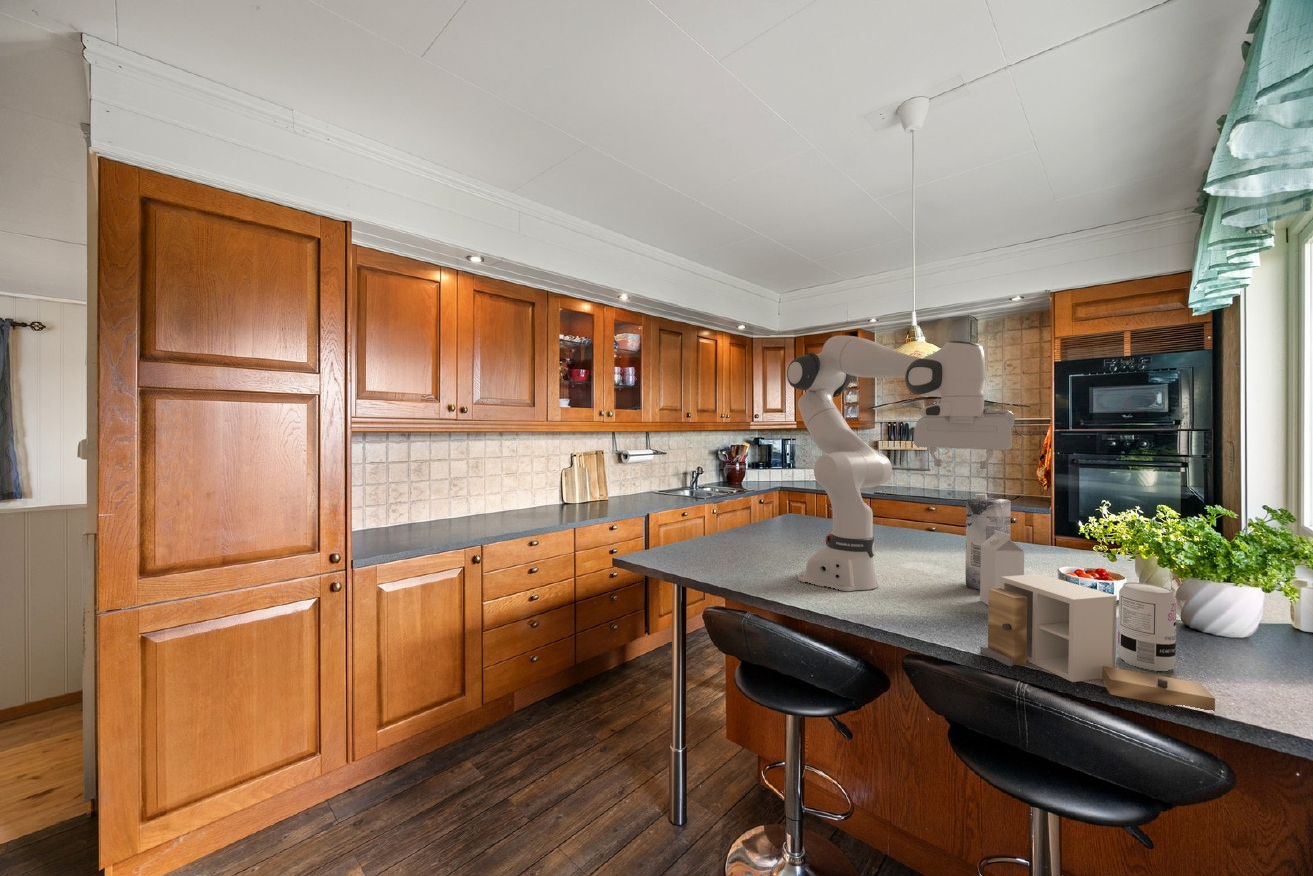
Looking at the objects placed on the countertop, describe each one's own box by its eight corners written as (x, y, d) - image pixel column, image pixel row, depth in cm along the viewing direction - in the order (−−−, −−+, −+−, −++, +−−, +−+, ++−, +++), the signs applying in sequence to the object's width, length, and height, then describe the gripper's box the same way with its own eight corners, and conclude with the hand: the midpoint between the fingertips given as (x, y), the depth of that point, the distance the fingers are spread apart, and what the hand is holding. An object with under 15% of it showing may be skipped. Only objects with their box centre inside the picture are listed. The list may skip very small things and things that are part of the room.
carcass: (1048, 685, 95) (1049, 601, 95) (977, 650, 110) (978, 578, 109) (1115, 676, 98) (1116, 595, 98) (1037, 643, 113) (1038, 573, 113)
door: (1110, 696, 92) (1110, 673, 92) (1102, 682, 97) (1102, 660, 97) (1214, 717, 85) (1215, 692, 85) (1200, 700, 91) (1200, 677, 90)
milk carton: (1007, 601, 141) (1009, 530, 141) (1023, 610, 134) (1024, 535, 134) (979, 600, 142) (980, 529, 142) (993, 609, 135) (994, 535, 134)
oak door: (1009, 665, 103) (1010, 598, 103) (983, 652, 109) (984, 589, 109) (1026, 663, 104) (1027, 597, 104) (999, 650, 110) (1000, 588, 109)
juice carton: (1013, 589, 152) (1015, 495, 151) (991, 595, 147) (993, 497, 146) (982, 581, 160) (983, 491, 159) (960, 586, 155) (961, 493, 154)
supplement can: (1110, 652, 109) (1111, 579, 109) (1162, 659, 106) (1163, 584, 106) (1128, 669, 101) (1130, 590, 101) (1184, 676, 98) (1186, 596, 98)
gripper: (1014, 409, 123) (1012, 469, 124) (916, 409, 134) (915, 464, 134) (1015, 408, 118) (1013, 471, 118) (913, 409, 129) (911, 466, 129)
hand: (960, 467), depth 126 cm, fingers open, 8 cm apart
